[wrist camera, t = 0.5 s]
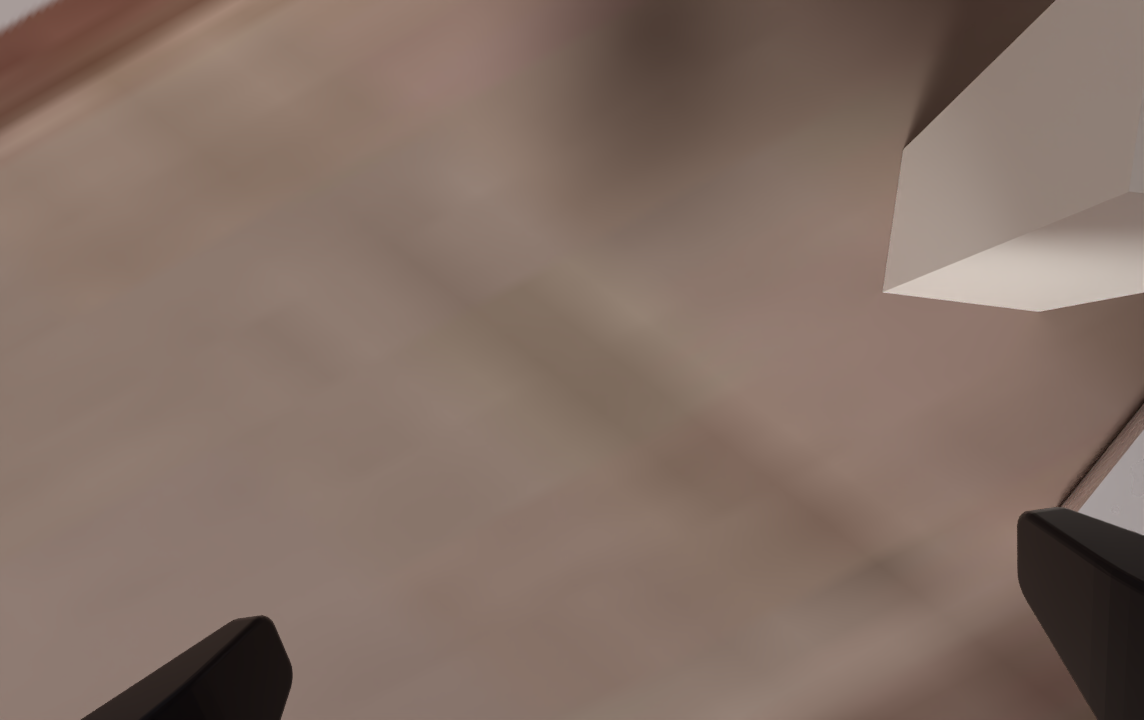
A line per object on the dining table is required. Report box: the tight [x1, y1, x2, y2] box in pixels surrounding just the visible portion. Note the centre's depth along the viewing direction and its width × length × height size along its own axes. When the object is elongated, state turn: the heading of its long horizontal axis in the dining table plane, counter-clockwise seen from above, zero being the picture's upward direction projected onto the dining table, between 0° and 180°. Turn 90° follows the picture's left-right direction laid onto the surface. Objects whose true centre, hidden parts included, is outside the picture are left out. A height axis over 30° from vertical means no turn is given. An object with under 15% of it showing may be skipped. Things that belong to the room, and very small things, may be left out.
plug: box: [883, 0, 1144, 312], centre depth 14 cm, size 4×4×12 cm
